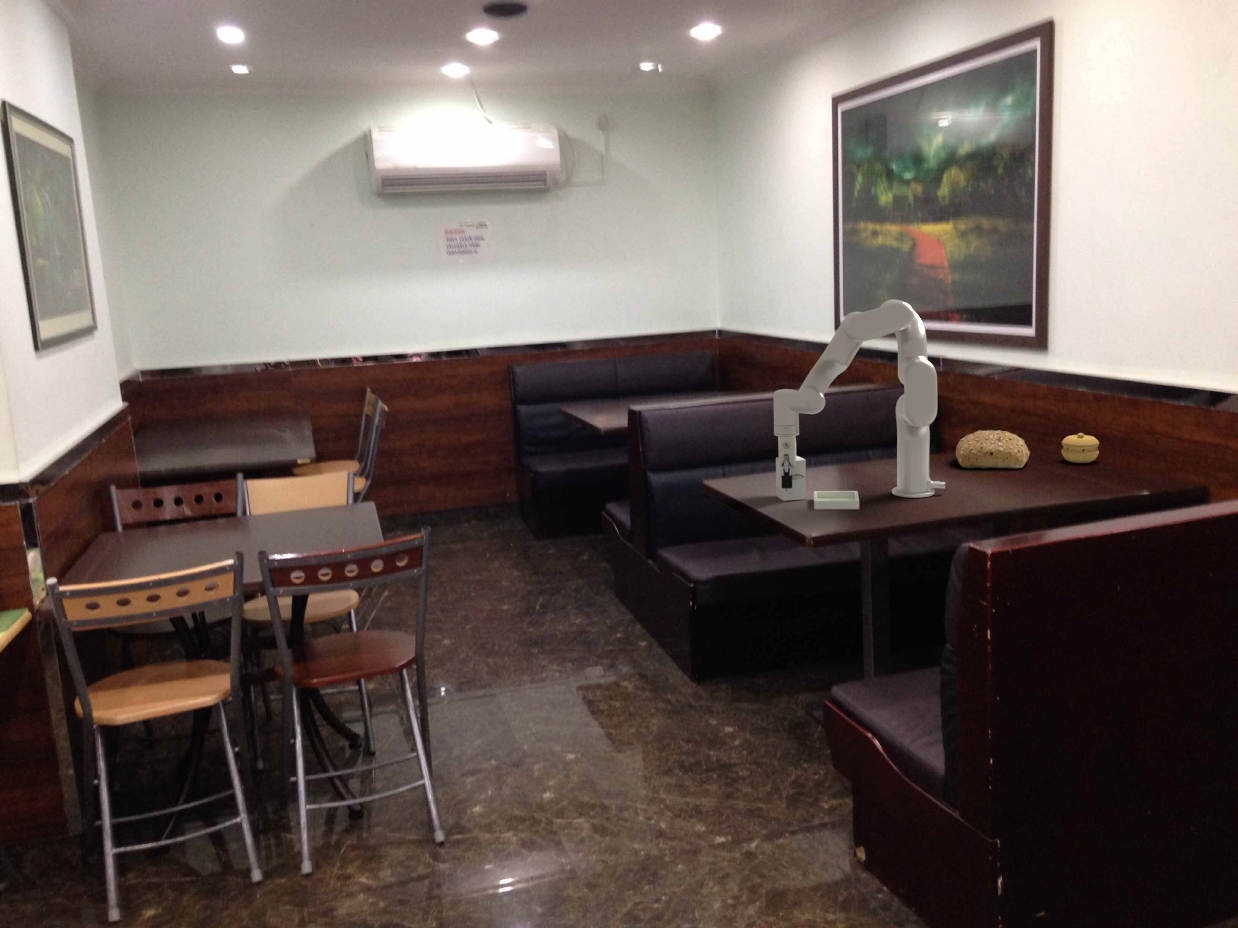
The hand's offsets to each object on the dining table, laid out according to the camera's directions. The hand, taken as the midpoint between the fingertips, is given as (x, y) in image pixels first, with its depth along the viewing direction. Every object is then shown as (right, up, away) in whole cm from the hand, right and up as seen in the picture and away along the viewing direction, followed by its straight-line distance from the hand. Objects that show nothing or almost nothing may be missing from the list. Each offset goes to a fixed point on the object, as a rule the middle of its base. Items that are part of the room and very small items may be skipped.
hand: (787, 484), depth 321 cm
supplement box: (+1, -4, +1) cm, 5 cm away
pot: (+105, +7, +32) cm, 110 cm away
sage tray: (+13, -6, -10) cm, 17 cm away
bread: (+77, +6, +36) cm, 85 cm away
